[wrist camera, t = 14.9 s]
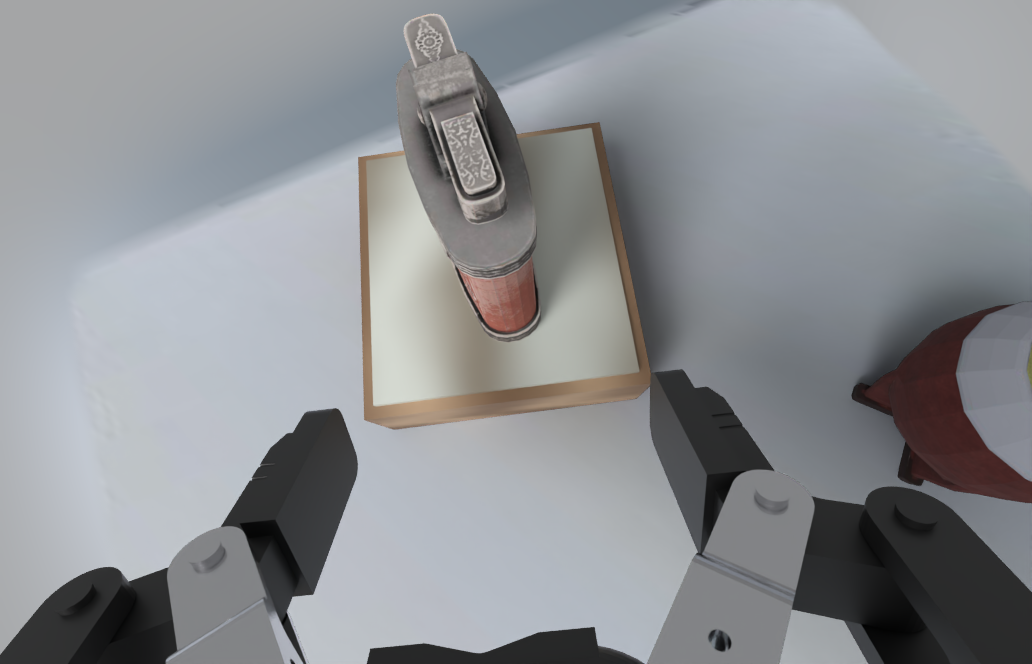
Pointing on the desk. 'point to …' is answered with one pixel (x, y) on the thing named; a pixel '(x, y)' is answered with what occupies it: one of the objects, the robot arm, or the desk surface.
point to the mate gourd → (965, 404)
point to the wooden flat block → (452, 323)
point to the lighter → (470, 178)
